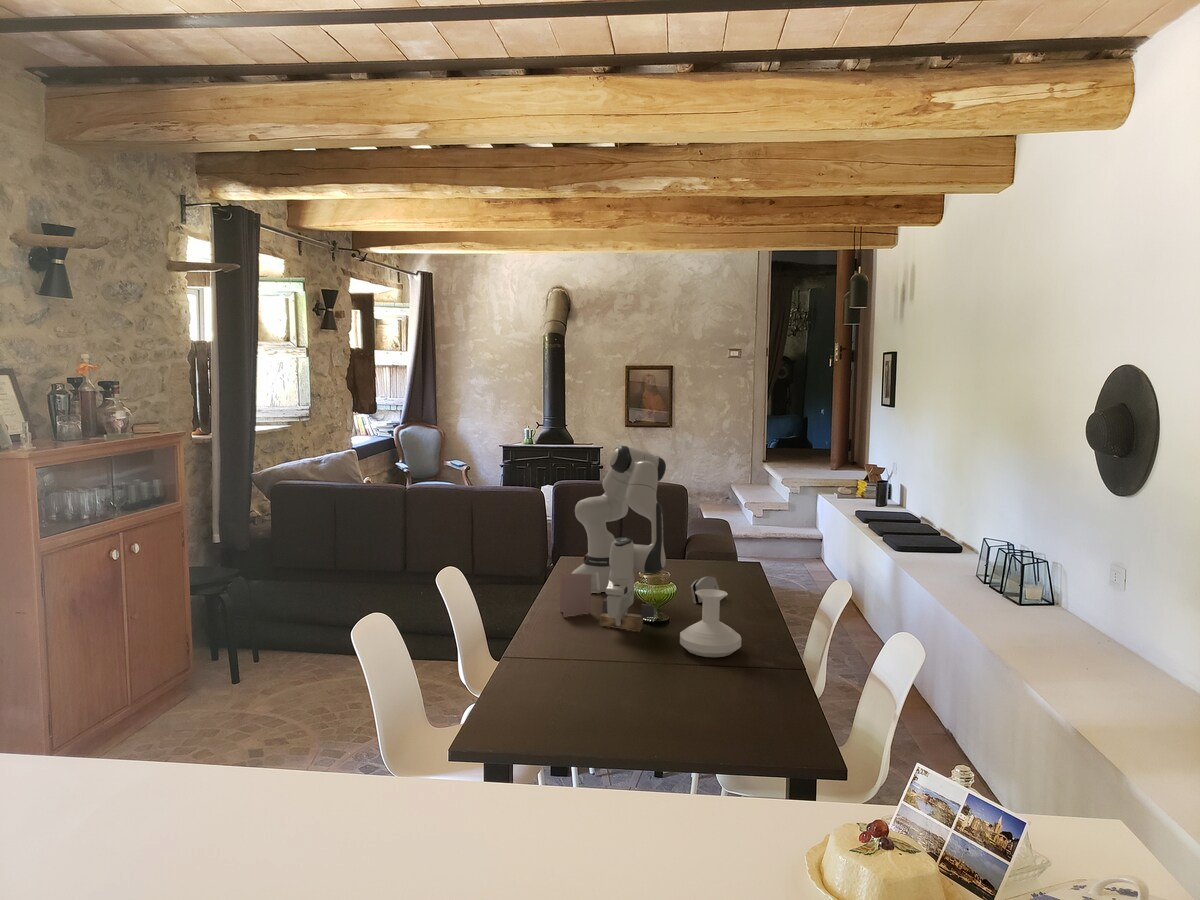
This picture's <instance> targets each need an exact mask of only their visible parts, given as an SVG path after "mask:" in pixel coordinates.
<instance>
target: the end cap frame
mask: <svg viewBox="0 0 1200 900" xmlns="http://www.w3.org/2000/svg"><path fill="white" fill-rule="evenodd" d="M640 605H641V608H640V609H641V610H640V612H641V613H640V614H635V613H628V612H627V615H626V617H633V618H640V619H643V618H646V617H654V615H655V614H656V611H655V609H654V607H651V606H650V605H647V604H646V603H641V604H640ZM603 613H606V614H608V612H607V597H606V598H604V599H603V600H602V614H603Z"/></svg>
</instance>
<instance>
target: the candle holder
mask: <svg viewBox="0 0 1200 900" xmlns="http://www.w3.org/2000/svg"><path fill="white" fill-rule="evenodd" d="M695 593H696V594H697V595H698V596H699V597H700V598H701V599H703V602H702V607H701V608H702V609H701V610H702V611H701V613H702V615H701V616H702V617H701V620H699V621H698V622H697V621H696V623H692V625H691V624H690V625H689V626H687V627H686V628H685V629H683V630H682V631H680V632H679V644H680V645H681V646H682V647H683V648H685V650H686V651H688V652H689V653H690V654H693V655H696V656H700V657H704V658H722V657H723V658H724V657H726V656H730V655H732V654H733V653H735V652H736V651H737V650H738V649H740V648H741V647H742V636H741V635H740V634H739V633H738V632H737V631H736V630H734V629H733V628H732V627H731V626H729V625H727V624H725V623H724V622H722V621H720V607H721V606H720V604H721V602H720V601H721V600H723V599H724V598H725V597H727V596H728V593H727V591H724V590H721V589H720V590H716V589H701V590H697V591H695Z"/></svg>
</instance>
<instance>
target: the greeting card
mask: <svg viewBox="0 0 1200 900" xmlns="http://www.w3.org/2000/svg"><path fill="white" fill-rule="evenodd" d="M559 575H560V579H559V580H560V584H559V585H560V586H559V587H560V589H559V591H560V592H559V598H560V600H559V603H560V604H559V608H560V609H559V612H560V611H563V613H562V617H563V616H568V615H577V614H583V613H592V612H591V611H592V610H591V608H592V607H591V603H592V602H591V599H592V598H591V596H592V595H591V594H592V593H591V574H571V573H569V572H568V573H567V572H566V573H564V572H563V573H560V574H559Z"/></svg>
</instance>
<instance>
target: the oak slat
mask: <svg viewBox="0 0 1200 900" xmlns="http://www.w3.org/2000/svg"><path fill="white" fill-rule="evenodd" d="M621 620H622V624H621V625H620V626H616V621H615V617H609V616H608V614H606V613H603V612H602V613H601V614H600V615H599V625H600V624H601V625H608V626H614V627H620V628H625V629H630V630H636V631H639V630H640V629H642V630H643V625H644V622H643V619H640V618H633V617H626V616H621ZM639 632H640V631H639Z"/></svg>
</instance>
